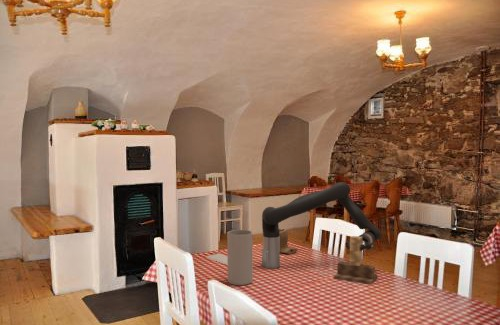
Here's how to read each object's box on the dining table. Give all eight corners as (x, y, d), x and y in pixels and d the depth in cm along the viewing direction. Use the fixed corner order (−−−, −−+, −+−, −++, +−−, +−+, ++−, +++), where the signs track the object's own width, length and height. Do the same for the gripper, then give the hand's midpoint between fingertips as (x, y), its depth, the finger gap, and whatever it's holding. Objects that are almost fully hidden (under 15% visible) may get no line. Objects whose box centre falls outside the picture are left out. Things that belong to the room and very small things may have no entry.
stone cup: (267, 252, 284) (267, 228, 283) (280, 248, 292) (280, 226, 291) (286, 256, 273) (285, 232, 272) (298, 253, 281) (298, 229, 281)
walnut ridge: (333, 278, 229) (333, 265, 229) (341, 272, 239) (341, 259, 239) (371, 284, 219) (371, 270, 219) (377, 277, 230) (377, 264, 229)
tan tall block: (349, 264, 228) (349, 237, 228) (352, 262, 232) (352, 235, 232) (359, 266, 226) (359, 238, 225) (361, 264, 230) (362, 236, 230)
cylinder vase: (256, 279, 228) (256, 231, 227) (246, 287, 217) (245, 235, 216) (234, 276, 233) (234, 229, 232) (223, 283, 222) (222, 233, 221)
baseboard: (235, 270, 247) (251, 266, 255) (235, 265, 247) (251, 261, 254) (203, 259, 270) (218, 255, 278) (203, 254, 270) (218, 251, 278)
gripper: (350, 233, 244) (340, 239, 230) (377, 235, 237) (368, 242, 223) (350, 246, 245) (340, 253, 230) (377, 249, 237) (368, 257, 223)
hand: (354, 248), depth 226 cm, fingers open, 6 cm apart
